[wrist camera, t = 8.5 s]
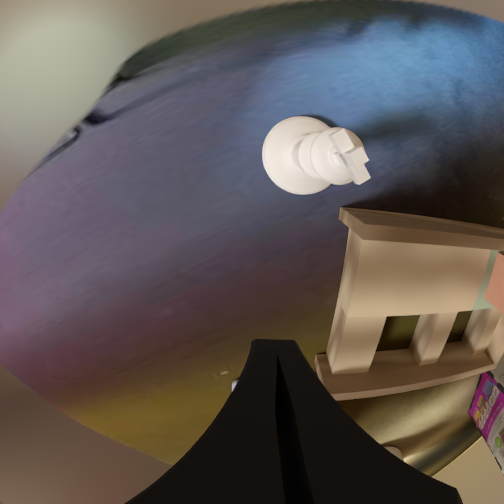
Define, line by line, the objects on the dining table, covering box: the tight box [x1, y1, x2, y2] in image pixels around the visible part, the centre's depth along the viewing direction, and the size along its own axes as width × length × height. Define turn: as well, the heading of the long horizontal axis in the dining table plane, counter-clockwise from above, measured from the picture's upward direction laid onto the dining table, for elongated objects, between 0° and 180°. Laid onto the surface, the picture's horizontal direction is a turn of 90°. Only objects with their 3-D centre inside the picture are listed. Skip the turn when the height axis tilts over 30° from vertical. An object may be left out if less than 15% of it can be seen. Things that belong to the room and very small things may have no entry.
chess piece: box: [262, 116, 371, 195], centre depth 12 cm, size 5×5×10 cm
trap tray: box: [314, 207, 504, 401], centre depth 17 cm, size 13×19×4 cm
